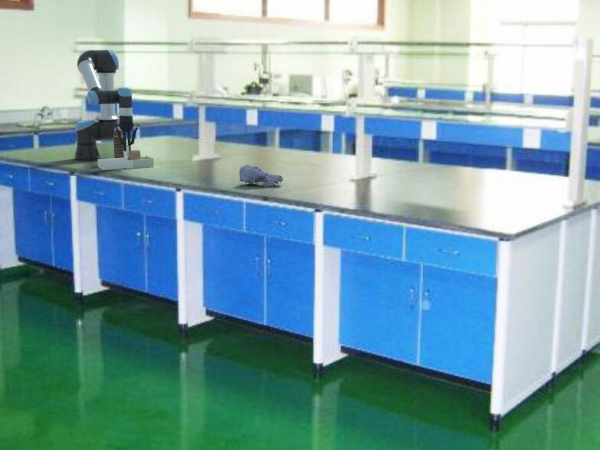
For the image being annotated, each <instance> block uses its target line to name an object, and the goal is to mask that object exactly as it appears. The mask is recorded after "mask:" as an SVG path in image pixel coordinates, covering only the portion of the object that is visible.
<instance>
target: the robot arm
mask: <svg viewBox="0 0 600 450" xmlns="http://www.w3.org/2000/svg"><path fill="white" fill-rule="evenodd" d="M76 64H77V65H76V66H77V71H78V72H79V73H80V74H81V75H82V77H83V79H84V83H85V85H86V87H87V90H88V91H87V94H86V99H87V103H88V104H89V105H94V106H97V105H100V116H99V117H98V121H96V120H95V119H84V120H80V121H79V120H78V121H77V122H76V123H75V133H76V134H75V135H76V137H75V138H76V148H75V152H74V160H76V161H94V160H95V161H96V160H98V159H101V153H100V151H99V148H98V145H97V142H98V141H99V142H100V141H101V142H102V141H114V140H113V139H114V137H113V136H114V129H115V130H116V132H117V134H118V138H119V141H120V144H121V145H123V146H124V152H125V158H128V157H129V151H131V150H132V145H134V144H135V139H136V135H137V131H138V130H139V128H138V127H137V126H135V124H134V119H133V118H134V117H133V115H134V114H133V112H134V111H133V91H132V90H133V89H132V88H131V87H124V86H123V87H118V88H117V89H116V90H115V82H114V81H115V80H114V78H115V75H116V73H117V70H119V67H120V62H119V57H118V55H117V52H116V51H115V50H111V49H96V50H95V49H94V50H93V49H89V50H86V51H84V52H82V53H81V54H80V55H79V57H78V59H77V61H76ZM116 105H118V115H119V116H118V117H117V116H116ZM120 129H121V130H122V135H123V141H122V138H121V134H120V131H119V130H120ZM131 132H132V133H131ZM131 134H132V136H131Z"/></svg>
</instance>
